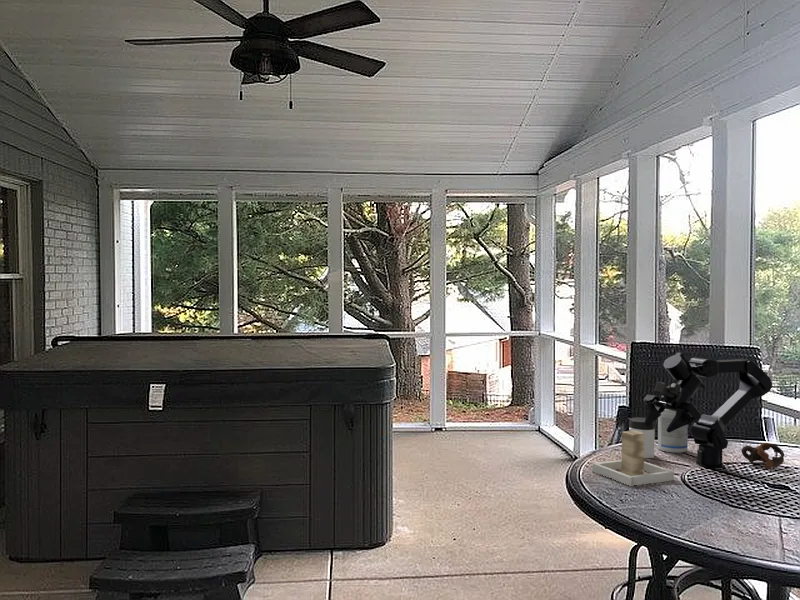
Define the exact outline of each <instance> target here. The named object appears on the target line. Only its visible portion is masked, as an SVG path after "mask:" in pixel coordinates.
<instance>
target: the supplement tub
mask: <svg viewBox="0 0 800 600" xmlns="http://www.w3.org/2000/svg"><path fill="white" fill-rule="evenodd" d="M660 414H661V416H660V417H658V418H657V448H658V450H660V451H663V452H666V453H670V454H671V453H674V454H680V453H685V452H687V450H688V448H689V447H688V443H689V442H688V438H689V436H688V429H689V428H688V427H689V426H688V425H689V424H687V425H685V426H682V427H680V428H678V429H676V430H674V431H672V432H670V433H668V432H667V428H668V426H669V425H670V423H671V422H672V420H673V418H674V417H675V415H676V412H675V411H672V410H668V409H665V410H664V411H663V412H662V413H660Z"/></svg>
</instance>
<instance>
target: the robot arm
mask: <svg viewBox="0 0 800 600" xmlns="http://www.w3.org/2000/svg"><path fill="white" fill-rule="evenodd" d="M663 367H664V369H665V370H666V371H667V372H668V374H669V375H670V376H671V377H672V378H673V380H675V381H678V382H677V383H674V382H673V383H671V384H670V383H666V382H660V381H657V382H656V384H655V387H654V390H653V392H654V393H657V394H659V395H661V396H660V397H659V396H657V395H652V394H646V395H645V396H644V398H643V402H644V404H645V405H646V406H647V410H646V416H645V418H646V419H645V423H644V425H645V426H646V427H647V426H648V425H650V424H651V423H652V422H654V421H655V422H656V420H658V417H660V416H661V414H660V413H662V412H663V411H664V410H665V409H668V410H672V411H675V412H676V415H675V417H674V418H673V420H672V422H671V423H670V425H669V426H668V428H667V432H668V433H670V432H672V431H674V430H676V429H678V428H680V427H682V426H685V425H687V424H688V425H691V424H692V427H691V435H692V438H693V441H694V444H696V445H698V449H697V450H696V453H697V454H696V455H697V456H696V460H695V463H696V464H697V465H700V466H702V467H704V468H708V469H711V468H714V469H715V468H717V469H718V468H726V465H725V464H723V450H725V449H727V448H728V444H729V441H728V439H727V438H726V436H724V435H725V430H726V426H727V425H729V423H730V422H732V420H733V419H734V418H735V417H736V416H737V415H738V414H739V413H740V412H742V411H743V409H745V407H746V406H748V404H749V403H750V402H751V401H752V400H754V399H757V398H761V397H764V396H766V395H767V394H768V393H769V392H770V391H771V390H772V387H773V381H772V380H771V377H770V376H769V375H768V374H767V373H766V372H765V371H764V370H763V369H761V368H760V367H758V365H756V363H755V362H754V361H753V360H751V359H747V358H738V359H718V360H715V359H714V360H713V359H708V358H704V357H703V358H701V357H692V358H690V360H687V359H686V357H685V355H684V354H683V352H676V353H675V354H673V355H671V356H669V357H668V358H665V360H664V361H663ZM728 373H737V378H738V379H739V388H738V390H737V391H735V392H734V394H732V395H731V396H730V397H729V398H728V399H727V400H726V401H725V402H724V403H723V404H722V405H721V406H720V407H718V408H717V410H716V411H715V412H714V413H712V414H711V415H709V414H708V415H707V414H705V413H704V414H702V413H701V412H700V411H699V410H698V408H697V407H696V405H695V404H694V403H692V402H693V401H694V399H693V396H694V395H695V393H696V392H697V391H698V390H703V391H704V390H706V385H705V380H701V378H700V377H702V378H707V379H709V378H713V377H716V376H718V375H719V374H728ZM660 398H661V399H662V400H664V401H662V400H661V399H660Z"/></svg>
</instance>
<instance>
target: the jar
mask: <svg viewBox="0 0 800 600" xmlns="http://www.w3.org/2000/svg"><path fill="white" fill-rule="evenodd" d="M645 419H646V417H640V416H639V417H631V418H629V422H628V424H629V425H628V426H629V430H628V431H637V432H640V433H644V459H654V458H655V434H656V433H655V431H656V420H655V421H654V422H652V423H651V424H650V425H648V426H647V427H646V426H645V425H644V423H645Z"/></svg>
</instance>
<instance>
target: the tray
mask: <svg viewBox="0 0 800 600" xmlns="http://www.w3.org/2000/svg"><path fill="white" fill-rule="evenodd" d="M621 462H622V459H618V460H612V461H611V460H610V461H602V462H593V463H592V472H593V473H595V474H597V473H598V474H597V475H600V474H601V475H600V476H602V475H603V476H602V477H605V476H606V477H605V478H607V477H609V478H608V479H610V478H612V479H611V480H613V479H614V480H613V481H615V480H616V482H618V481H619V482H618V483H620V482H621V484H623V483H624V484H623V485H625V484H627V485H626V486H628V485H629V486H628V487H635V486H634V485H637V486H642V484H644V485H649V483H651V484H655V483H656V484H657V483H662V482H670V481H675V471H673V470H670V469H668V468H666V467H661V466H658V465H656V464H654V463H653V464H652V463H649V462H646V461H644V472H645V471H646V473H644V474H643V475H635V476H629V475H626V474H624V473H621V472H620V471H619V470H621ZM617 469H619V470H617ZM648 472H649V473H648Z"/></svg>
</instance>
